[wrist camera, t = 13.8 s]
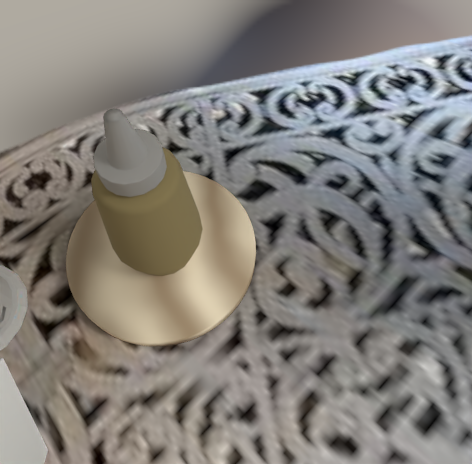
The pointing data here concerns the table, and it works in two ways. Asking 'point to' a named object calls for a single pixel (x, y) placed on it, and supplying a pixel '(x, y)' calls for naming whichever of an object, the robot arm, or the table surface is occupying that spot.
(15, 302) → the french press
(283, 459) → the table surface
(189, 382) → the table surface
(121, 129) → the squeeze bottle
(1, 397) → the robot arm
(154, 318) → the round beige plate
